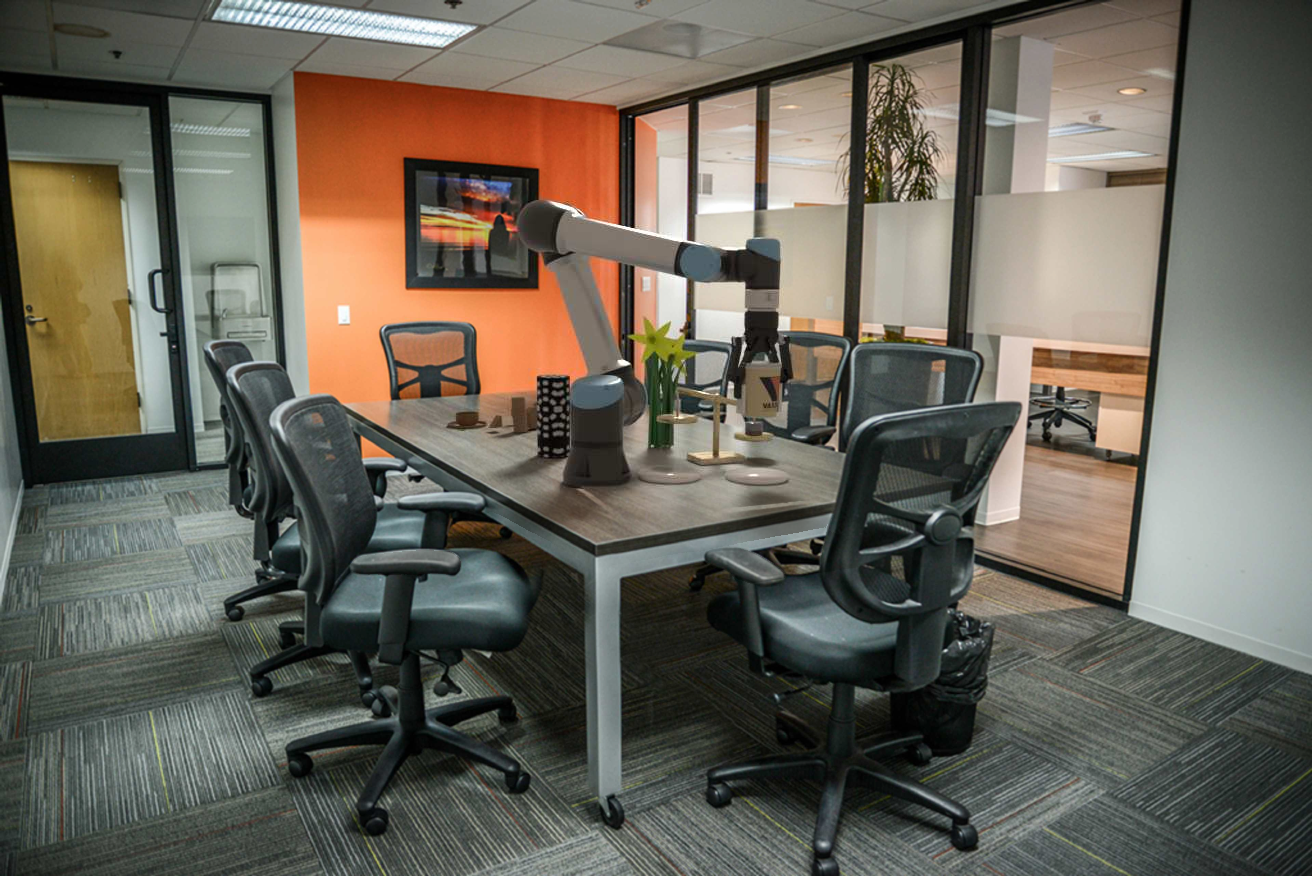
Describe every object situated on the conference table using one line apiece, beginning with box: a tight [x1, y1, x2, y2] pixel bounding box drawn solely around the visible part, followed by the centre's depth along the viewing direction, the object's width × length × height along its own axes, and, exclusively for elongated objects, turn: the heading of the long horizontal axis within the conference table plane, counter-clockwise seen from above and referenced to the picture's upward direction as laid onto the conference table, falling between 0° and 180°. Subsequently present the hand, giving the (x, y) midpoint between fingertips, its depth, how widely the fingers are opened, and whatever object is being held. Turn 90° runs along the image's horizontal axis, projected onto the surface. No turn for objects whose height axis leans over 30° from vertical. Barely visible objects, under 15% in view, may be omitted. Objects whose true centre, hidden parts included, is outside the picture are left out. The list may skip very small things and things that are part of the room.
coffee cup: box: [739, 360, 782, 419], centre depth 198 cm, size 9×9×12 cm
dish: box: [725, 467, 789, 486], centre depth 202 cm, size 14×14×1 cm
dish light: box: [638, 466, 701, 485], centre depth 202 cm, size 14×14×1 cm
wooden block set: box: [487, 396, 537, 434], centre depth 264 cm, size 18×9×10 cm, turn 131°
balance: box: [657, 386, 775, 466], centre depth 221 cm, size 31×10×19 cm, turn 114°
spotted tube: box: [536, 374, 571, 458], centre depth 226 cm, size 8×8×20 cm
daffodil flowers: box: [627, 316, 699, 449], centre depth 236 cm, size 17×15×35 cm
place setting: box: [446, 408, 513, 432], centre depth 271 cm, size 18×20×6 cm
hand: (758, 412), depth 199 cm, fingers closed on coffee cup, 8 cm apart
